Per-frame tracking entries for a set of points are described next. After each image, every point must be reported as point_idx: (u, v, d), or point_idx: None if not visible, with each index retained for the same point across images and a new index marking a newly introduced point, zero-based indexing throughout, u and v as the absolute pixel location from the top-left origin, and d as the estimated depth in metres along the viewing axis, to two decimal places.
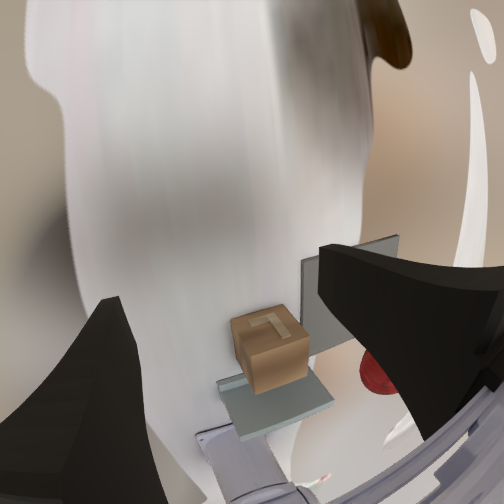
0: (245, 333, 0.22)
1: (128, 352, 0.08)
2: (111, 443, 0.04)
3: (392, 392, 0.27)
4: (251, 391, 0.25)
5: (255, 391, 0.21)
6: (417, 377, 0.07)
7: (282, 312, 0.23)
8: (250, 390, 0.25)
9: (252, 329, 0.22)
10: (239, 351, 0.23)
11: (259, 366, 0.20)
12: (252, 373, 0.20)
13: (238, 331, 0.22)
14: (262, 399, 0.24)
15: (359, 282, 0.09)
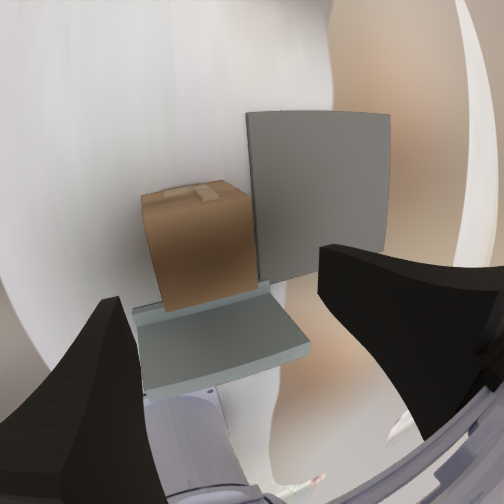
0: (151, 202, 0.13)
1: (128, 352, 0.08)
2: (111, 443, 0.04)
3: None
4: (180, 327, 0.17)
5: (164, 304, 0.13)
6: (417, 377, 0.07)
7: (217, 184, 0.15)
8: (179, 325, 0.17)
9: (165, 198, 0.14)
10: None
11: (162, 245, 0.12)
12: (152, 261, 0.12)
13: (143, 201, 0.14)
14: (193, 337, 0.16)
15: (359, 282, 0.09)
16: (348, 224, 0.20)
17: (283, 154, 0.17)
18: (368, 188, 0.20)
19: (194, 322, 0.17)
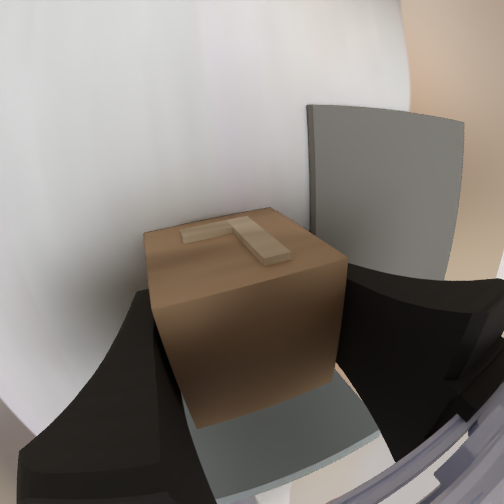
0: (163, 255, 0.08)
1: None
2: (175, 432, 0.04)
3: None
4: None
5: (195, 420, 0.07)
6: (386, 397, 0.06)
7: (268, 218, 0.10)
8: None
9: (186, 247, 0.08)
10: None
11: (191, 350, 0.06)
12: (174, 372, 0.07)
13: (148, 252, 0.08)
14: (227, 427, 0.11)
15: None
16: (415, 259, 0.15)
17: (356, 170, 0.11)
18: (439, 214, 0.14)
19: None
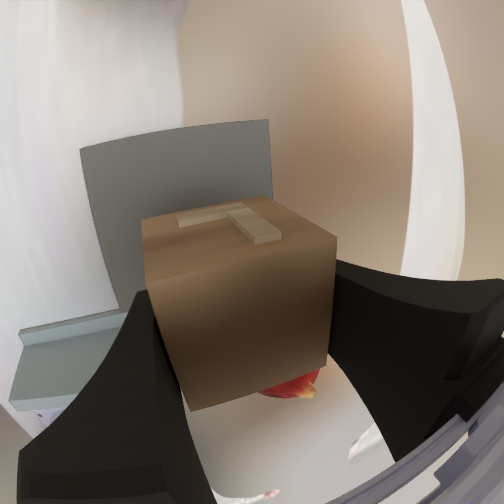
0: (159, 238, 0.08)
1: None
2: (175, 431, 0.04)
3: (280, 394, 0.17)
4: (50, 350, 0.15)
5: (189, 402, 0.08)
6: (386, 397, 0.06)
7: (262, 205, 0.10)
8: (50, 348, 0.16)
9: (181, 230, 0.08)
10: None
11: (184, 326, 0.07)
12: None
13: (145, 236, 0.08)
14: (54, 361, 0.15)
15: None
16: None
17: (120, 186, 0.15)
18: None
19: (61, 347, 0.16)
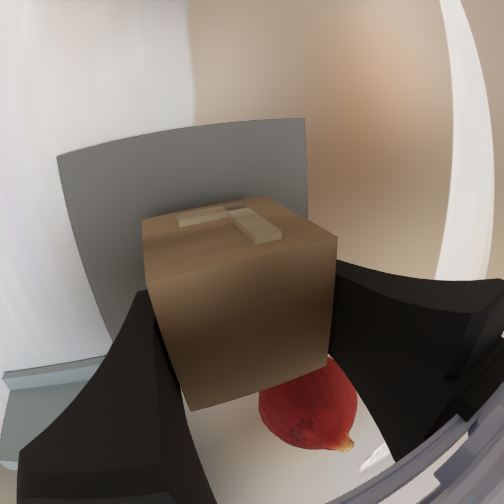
0: (159, 238, 0.08)
1: None
2: (175, 432, 0.04)
3: (313, 448, 0.13)
4: (39, 399, 0.12)
5: (189, 402, 0.08)
6: (386, 397, 0.06)
7: (262, 205, 0.10)
8: (39, 397, 0.12)
9: (181, 230, 0.08)
10: None
11: (184, 326, 0.07)
12: None
13: (145, 235, 0.08)
14: (44, 415, 0.11)
15: None
16: None
17: (111, 205, 0.11)
18: None
19: (51, 396, 0.12)
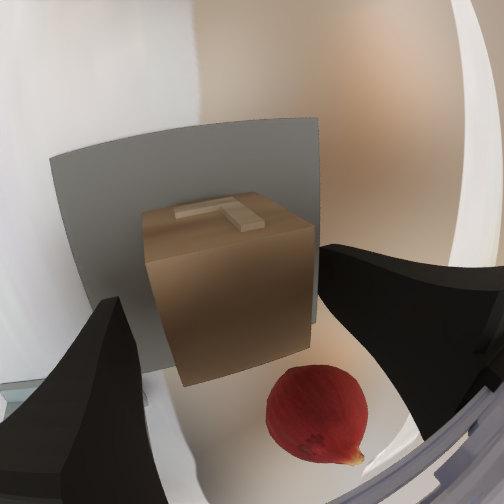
0: (157, 227, 0.09)
1: (128, 352, 0.08)
2: (111, 443, 0.04)
3: (322, 462, 0.12)
4: None
5: (182, 378, 0.09)
6: (417, 377, 0.07)
7: (251, 199, 0.11)
8: None
9: (177, 221, 0.09)
10: None
11: (177, 303, 0.08)
12: (163, 325, 0.08)
13: (145, 226, 0.09)
14: None
15: (359, 282, 0.09)
16: None
17: (109, 212, 0.10)
18: None
19: None
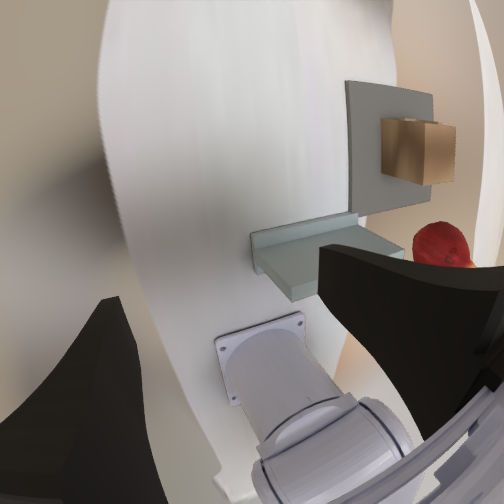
0: (404, 120, 0.19)
1: (128, 352, 0.08)
2: (111, 443, 0.04)
3: None
4: (296, 246, 0.20)
5: (423, 180, 0.18)
6: (417, 377, 0.07)
7: None
8: (295, 245, 0.21)
9: (407, 120, 0.19)
10: (395, 148, 0.20)
11: (429, 141, 0.17)
12: (423, 150, 0.17)
13: (397, 120, 0.19)
14: (313, 251, 0.20)
15: (359, 282, 0.09)
16: None
17: (369, 114, 0.20)
18: None
19: (307, 242, 0.21)
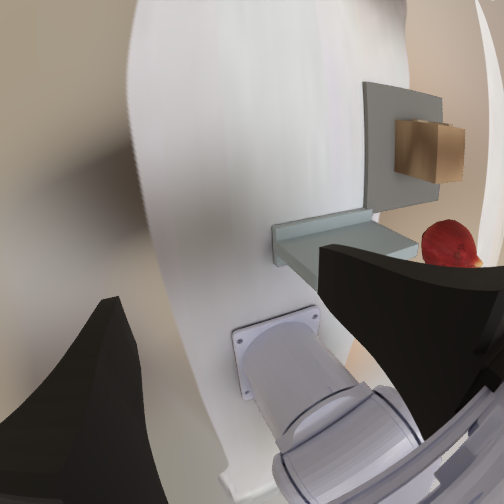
0: (417, 121, 0.19)
1: (128, 352, 0.08)
2: (111, 443, 0.04)
3: (464, 267, 0.22)
4: (316, 239, 0.21)
5: (435, 178, 0.19)
6: (417, 377, 0.07)
7: None
8: (315, 238, 0.21)
9: (420, 122, 0.19)
10: (408, 147, 0.20)
11: (441, 141, 0.18)
12: (436, 150, 0.18)
13: (410, 121, 0.19)
14: None
15: (359, 282, 0.09)
16: None
17: (385, 114, 0.20)
18: None
19: (326, 236, 0.21)
